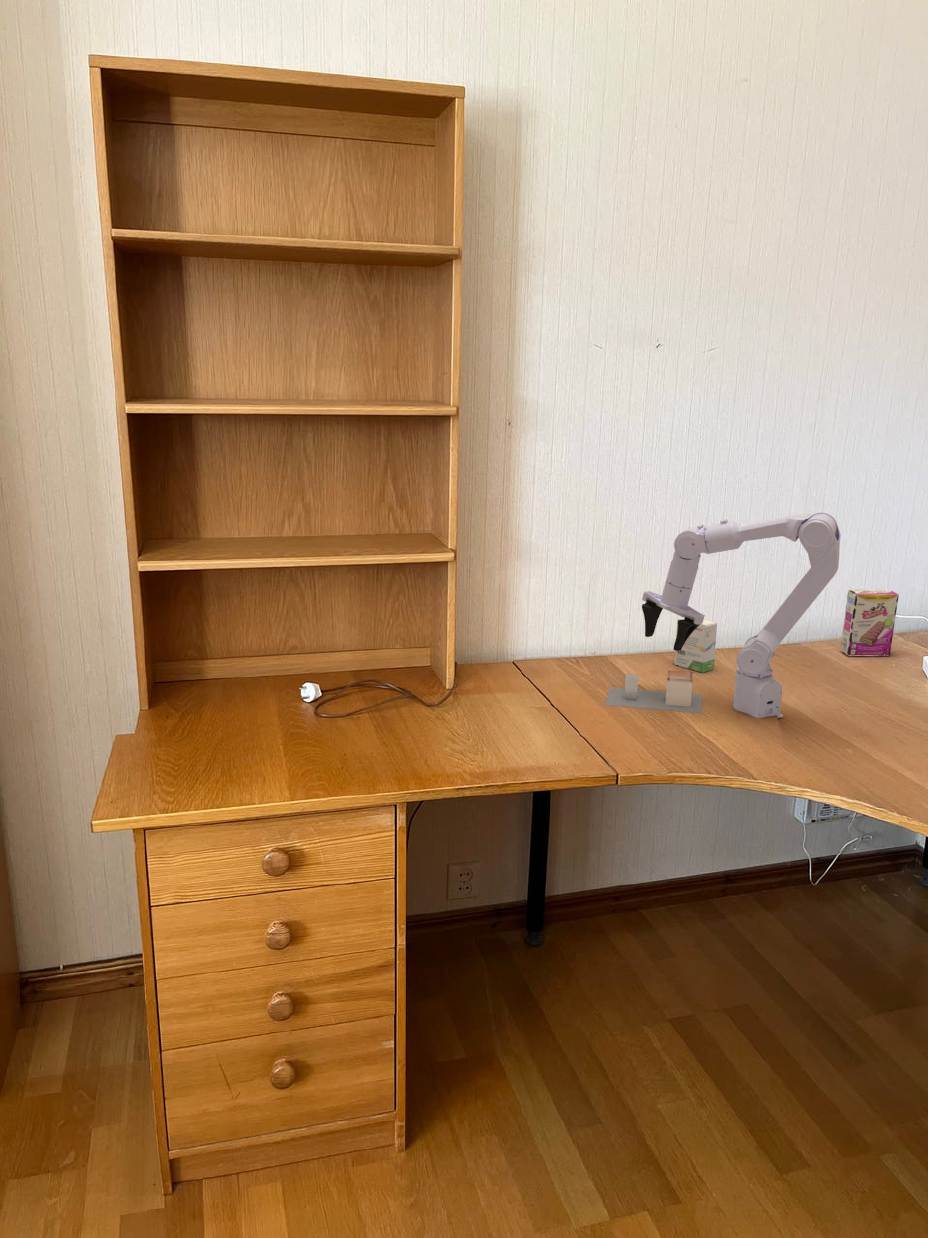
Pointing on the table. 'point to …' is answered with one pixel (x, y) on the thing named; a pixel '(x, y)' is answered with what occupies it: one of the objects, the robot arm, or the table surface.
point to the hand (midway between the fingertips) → (662, 642)
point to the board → (651, 700)
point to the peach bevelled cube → (679, 688)
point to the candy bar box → (869, 622)
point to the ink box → (698, 648)
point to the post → (631, 686)
